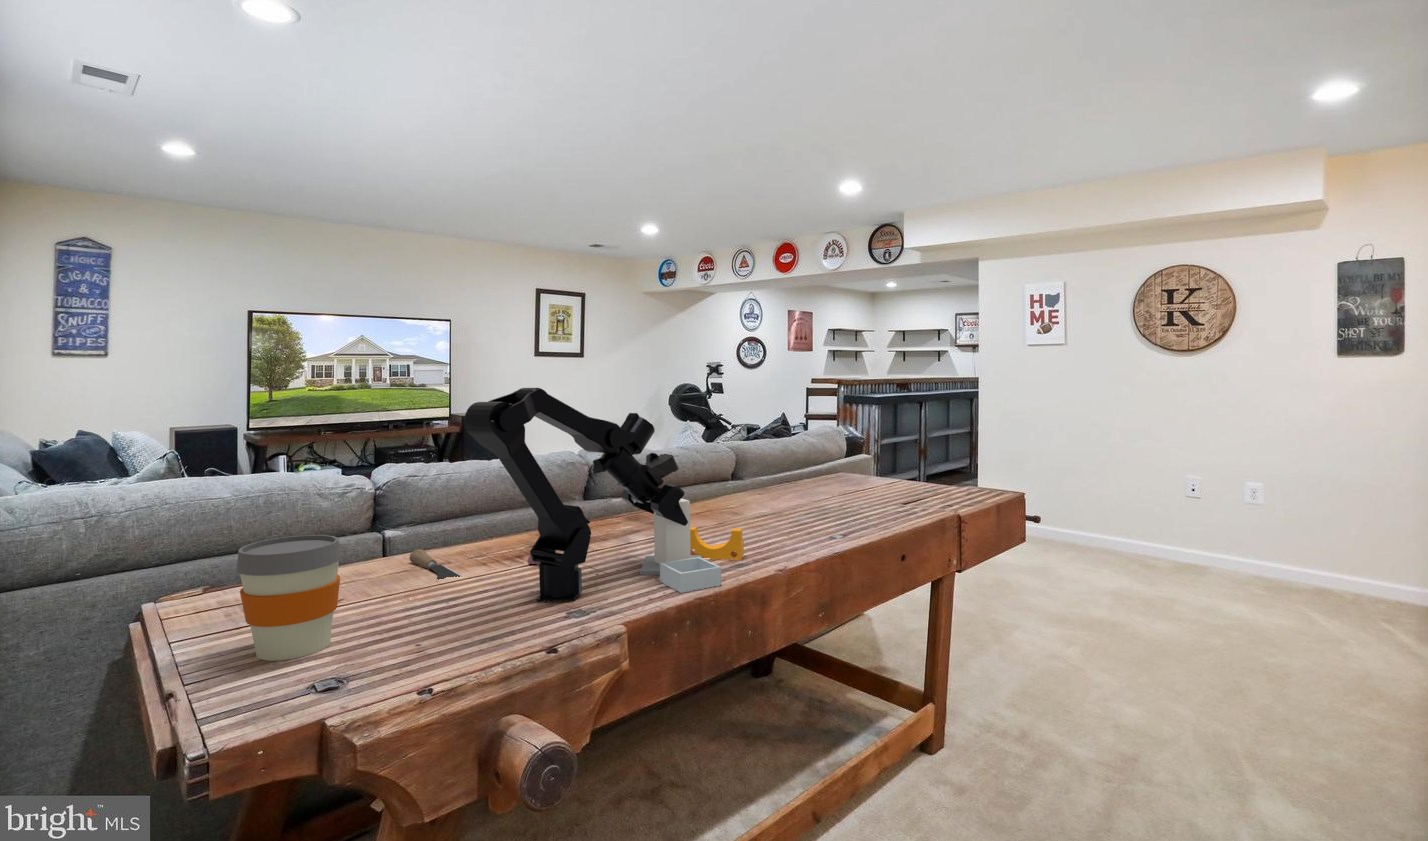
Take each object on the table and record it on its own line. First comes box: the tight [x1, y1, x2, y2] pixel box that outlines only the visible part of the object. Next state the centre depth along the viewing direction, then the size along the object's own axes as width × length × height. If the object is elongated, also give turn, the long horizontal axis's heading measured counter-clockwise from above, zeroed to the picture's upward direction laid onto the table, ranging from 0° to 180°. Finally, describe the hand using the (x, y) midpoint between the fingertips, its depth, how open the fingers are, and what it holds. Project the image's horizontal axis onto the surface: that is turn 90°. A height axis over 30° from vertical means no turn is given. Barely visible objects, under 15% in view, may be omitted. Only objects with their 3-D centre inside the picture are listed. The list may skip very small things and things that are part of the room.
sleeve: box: [659, 557, 722, 594], centre depth 123 cm, size 8×8×4 cm
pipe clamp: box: [690, 526, 745, 561], centre depth 143 cm, size 12×4×6 cm, turn 79°
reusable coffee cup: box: [236, 534, 342, 662], centre depth 94 cm, size 13×13×15 cm
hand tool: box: [408, 548, 463, 580], centre depth 132 cm, size 6×3×25 cm
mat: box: [639, 555, 702, 576], centre depth 135 cm, size 12×12×1 cm
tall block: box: [653, 497, 691, 564], centre depth 135 cm, size 6×6×13 cm
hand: (677, 520), depth 136 cm, fingers open, 7 cm apart
